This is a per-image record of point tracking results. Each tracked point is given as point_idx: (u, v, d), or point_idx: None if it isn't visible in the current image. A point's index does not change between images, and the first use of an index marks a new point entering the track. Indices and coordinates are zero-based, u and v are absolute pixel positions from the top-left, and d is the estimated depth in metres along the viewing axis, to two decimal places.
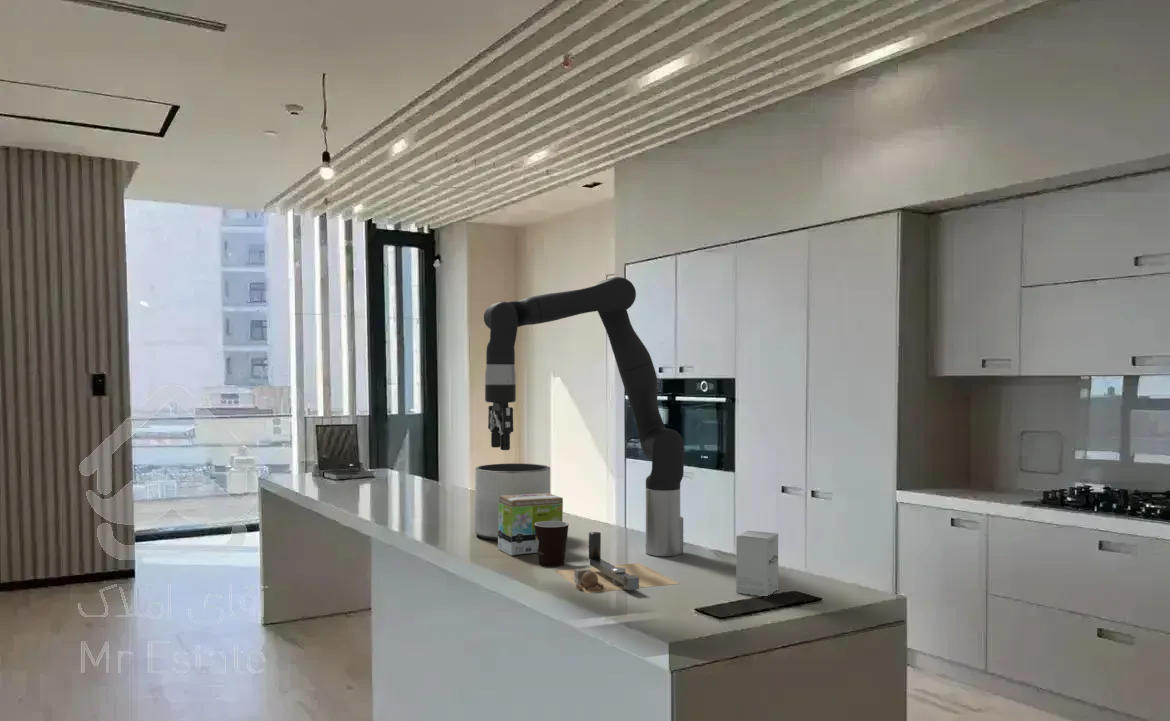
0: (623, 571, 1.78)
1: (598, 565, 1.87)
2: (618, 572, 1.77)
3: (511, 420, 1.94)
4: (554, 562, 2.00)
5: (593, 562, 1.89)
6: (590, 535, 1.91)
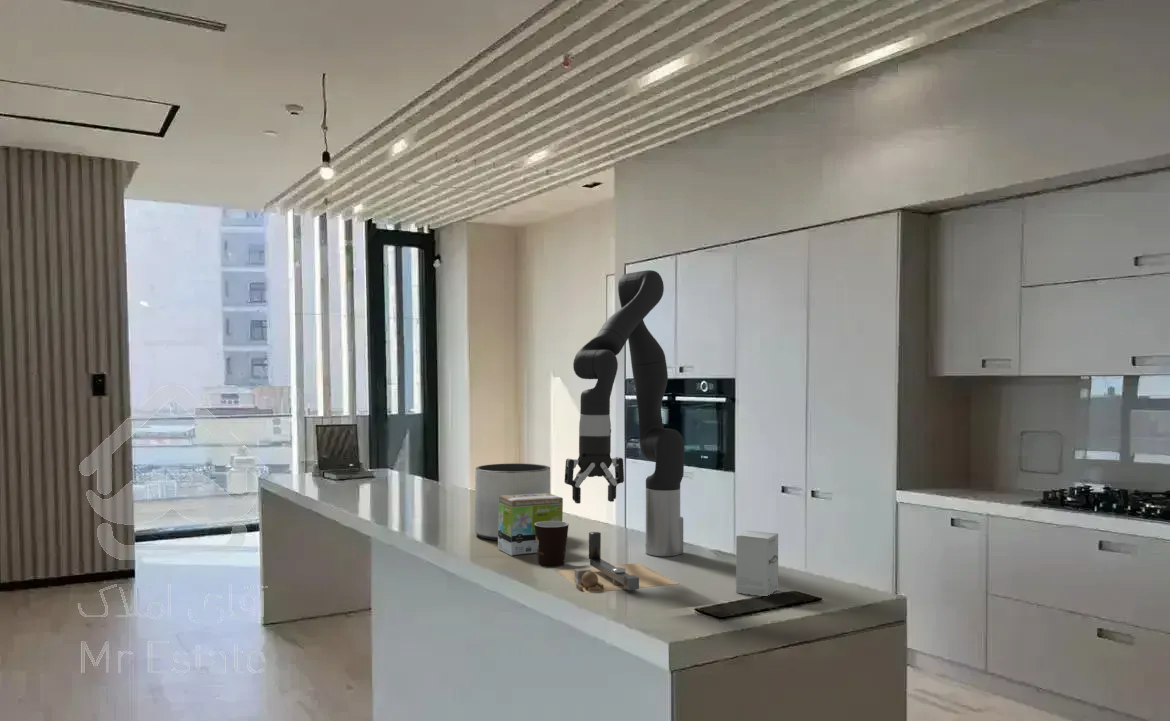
0: (623, 571, 1.78)
1: (598, 565, 1.87)
2: (618, 572, 1.77)
3: None
4: (554, 562, 2.00)
5: (593, 562, 1.89)
6: (590, 535, 1.91)
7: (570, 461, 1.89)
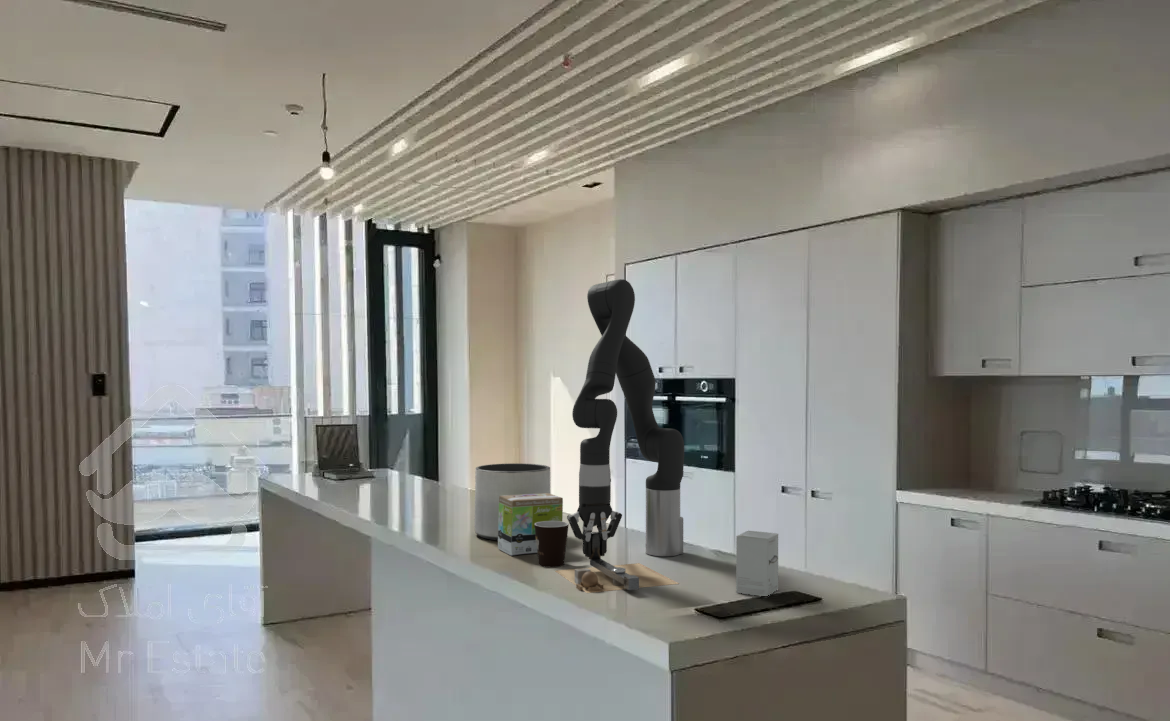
0: (623, 571, 1.78)
1: (598, 565, 1.87)
2: (618, 572, 1.77)
3: None
4: (554, 562, 2.00)
5: (593, 562, 1.89)
6: None
7: (571, 519, 1.89)
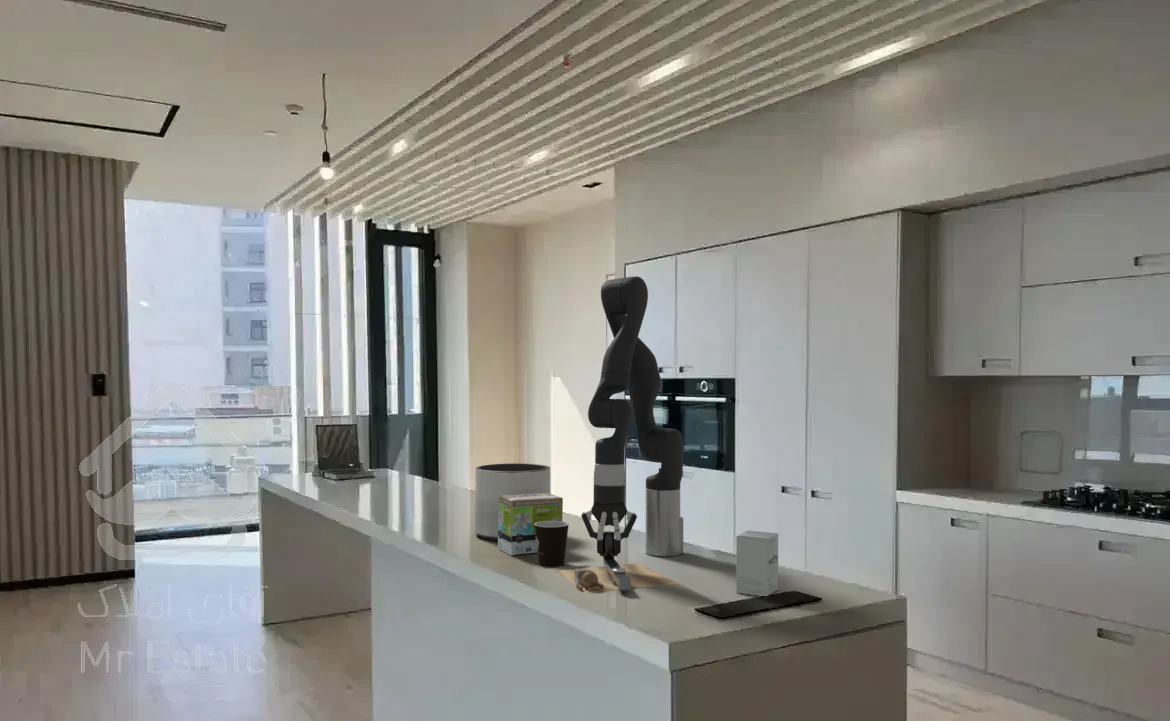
0: (622, 571, 1.78)
1: (606, 564, 1.87)
2: (616, 572, 1.77)
3: None
4: (554, 562, 2.00)
5: (604, 561, 1.90)
6: (603, 534, 1.92)
7: (582, 516, 1.92)
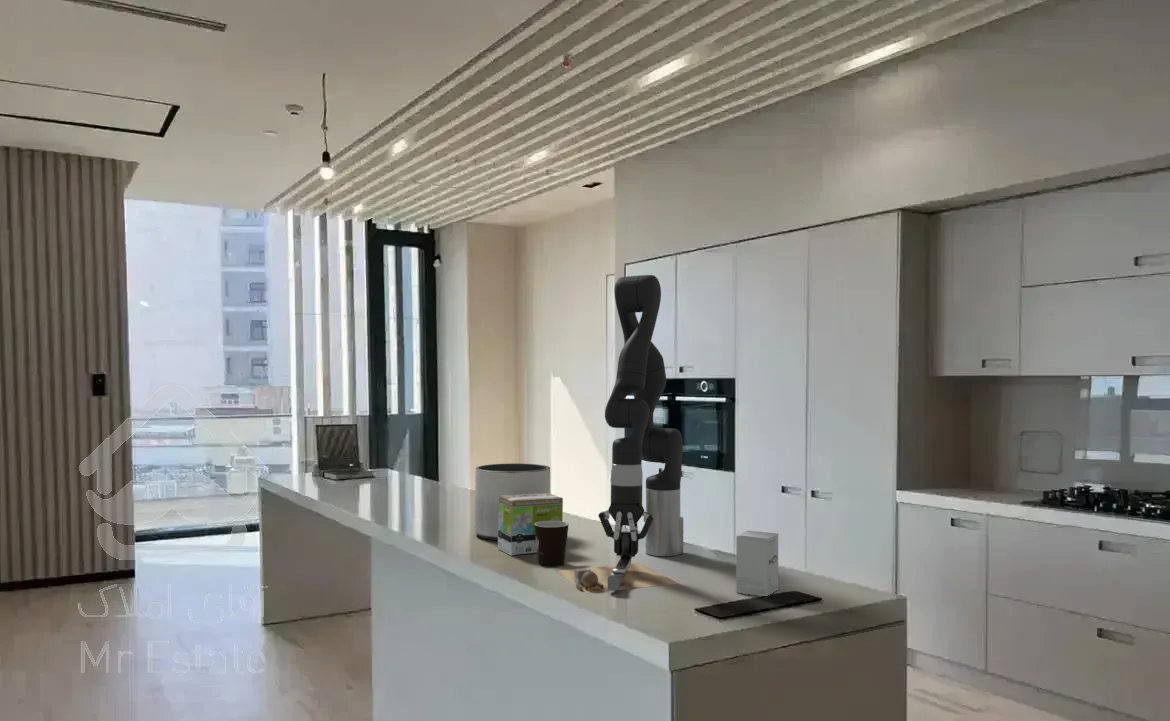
0: (620, 571, 1.77)
1: (618, 564, 1.88)
2: (614, 572, 1.78)
3: (649, 527, 1.92)
4: (554, 562, 2.00)
5: None
6: (620, 534, 1.93)
7: (599, 515, 1.93)
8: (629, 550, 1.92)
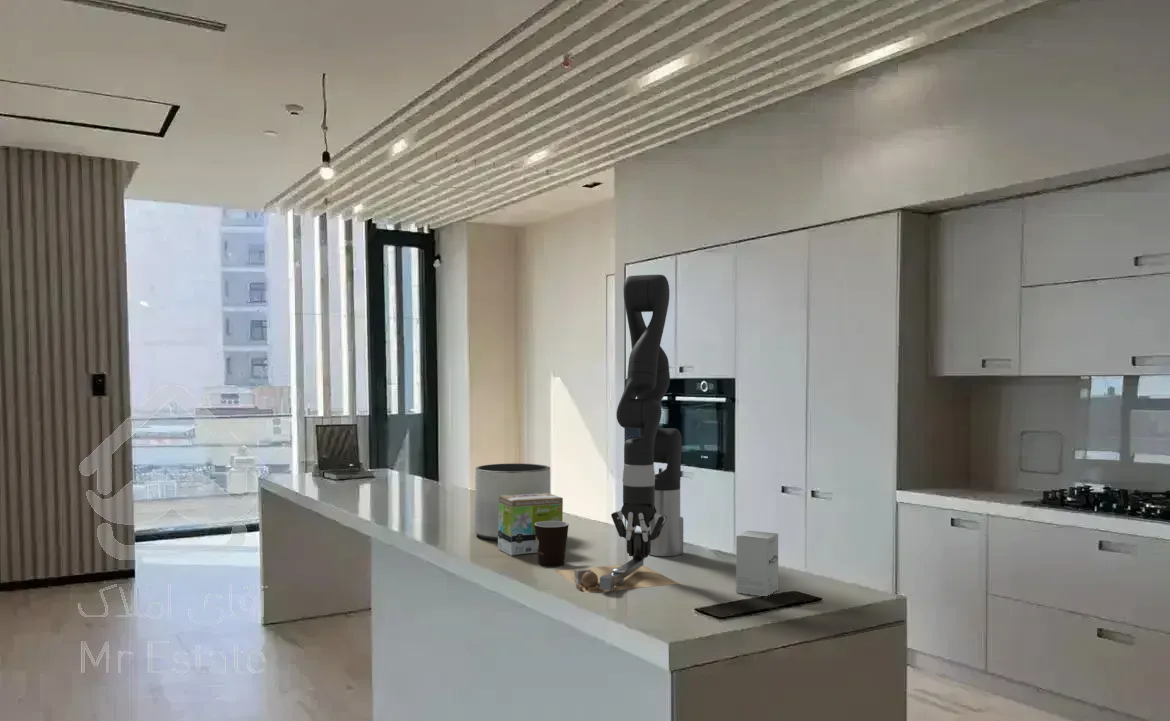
0: (618, 571, 1.77)
1: None
2: (613, 571, 1.78)
3: (661, 528, 1.90)
4: (554, 562, 2.00)
5: None
6: None
7: (612, 515, 1.93)
8: (640, 551, 1.91)
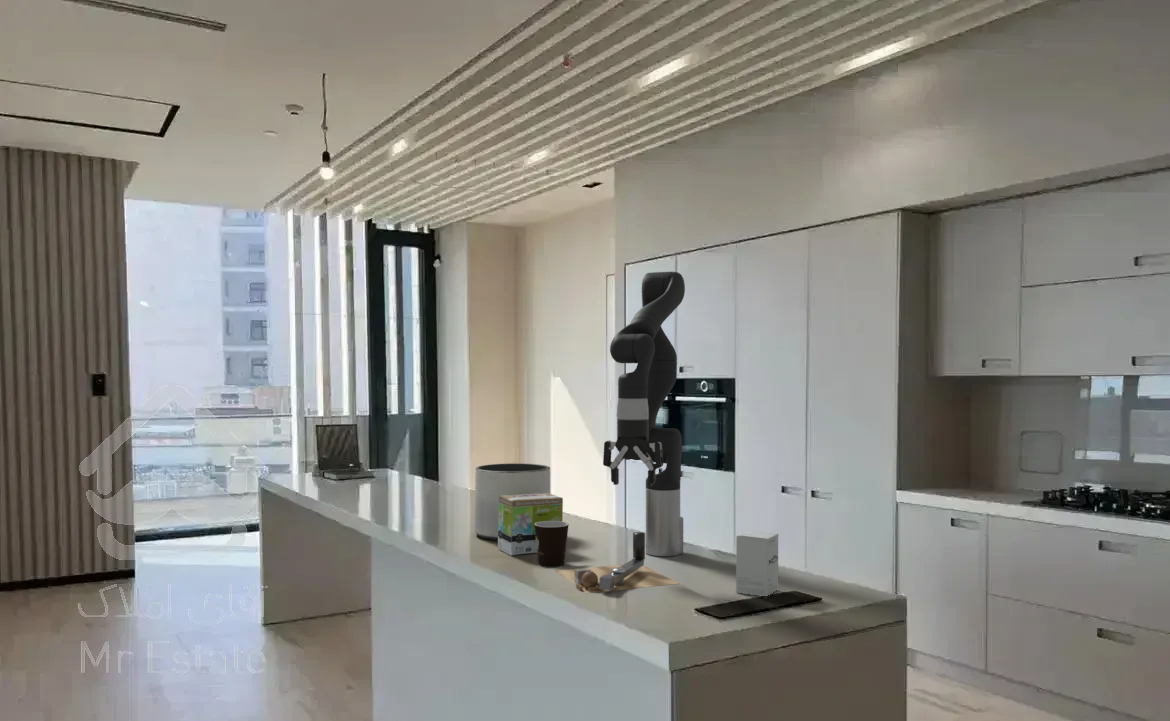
0: (618, 571, 1.77)
1: None
2: (613, 571, 1.78)
3: (662, 455, 1.93)
4: (554, 562, 2.00)
5: None
6: (633, 534, 1.92)
7: (605, 443, 1.95)
8: (641, 551, 1.91)
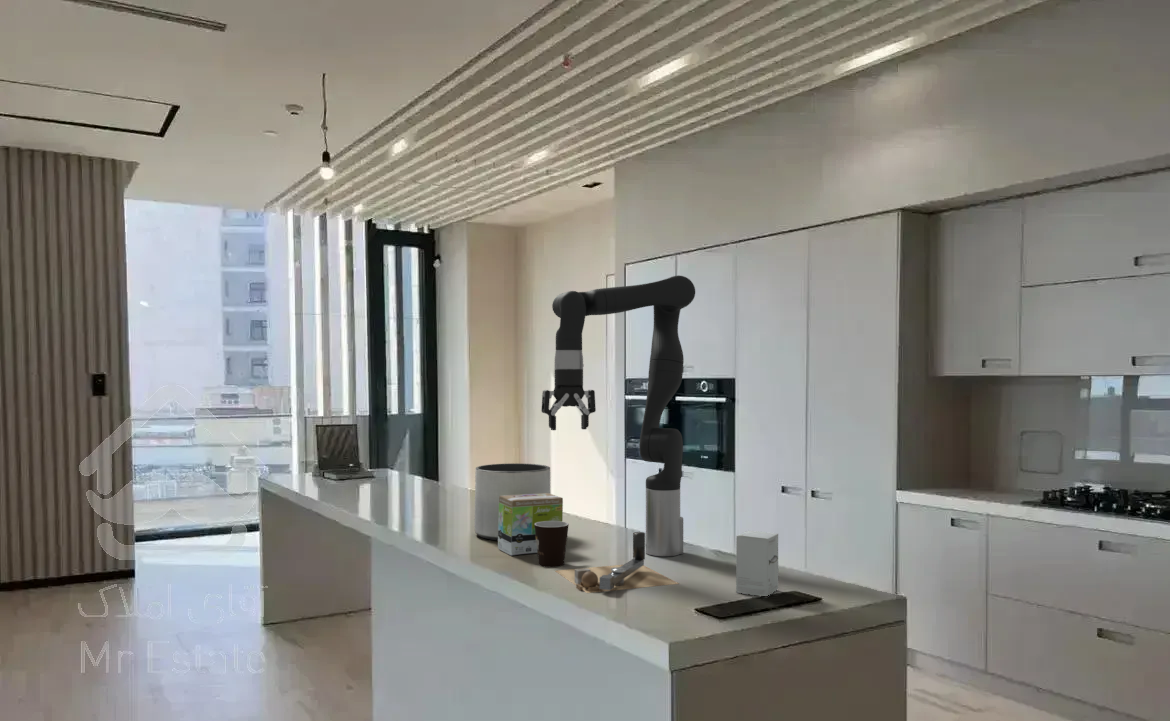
0: (618, 571, 1.77)
1: None
2: (613, 571, 1.78)
3: None
4: (554, 562, 2.00)
5: None
6: (633, 534, 1.92)
7: (546, 392, 2.09)
8: (641, 551, 1.91)
